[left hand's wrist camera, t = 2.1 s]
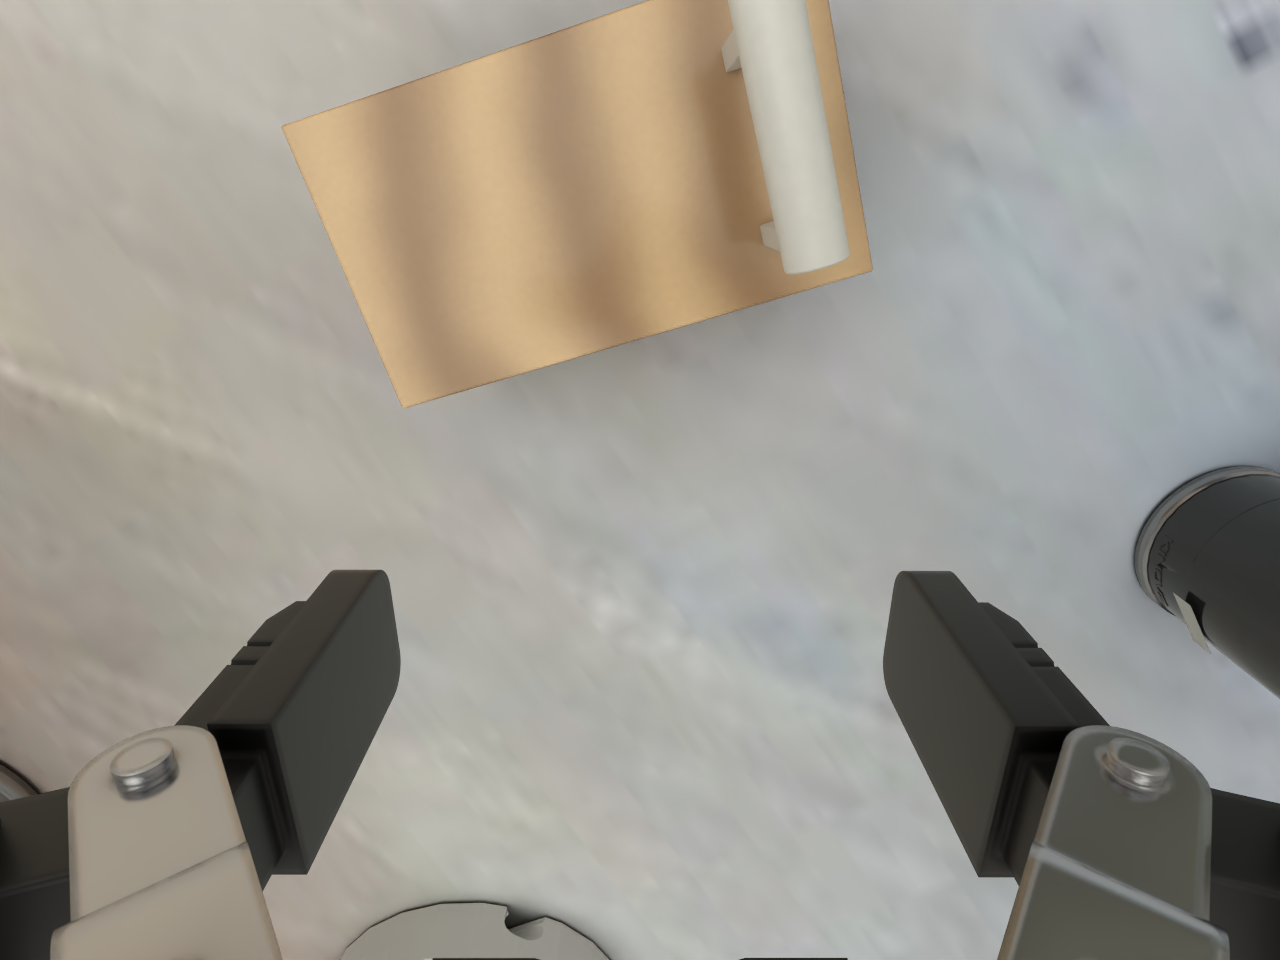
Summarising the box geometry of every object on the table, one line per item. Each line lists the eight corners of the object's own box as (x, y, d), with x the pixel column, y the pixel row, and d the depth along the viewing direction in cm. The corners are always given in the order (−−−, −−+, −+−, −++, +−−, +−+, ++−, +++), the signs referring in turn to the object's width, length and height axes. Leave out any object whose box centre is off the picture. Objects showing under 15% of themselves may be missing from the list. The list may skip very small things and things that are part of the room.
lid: (809, -45, 22) (899, -170, 14) (862, 266, 26) (957, 299, 18) (298, 129, 24) (139, 100, 16) (413, 399, 27) (326, 480, 20)
